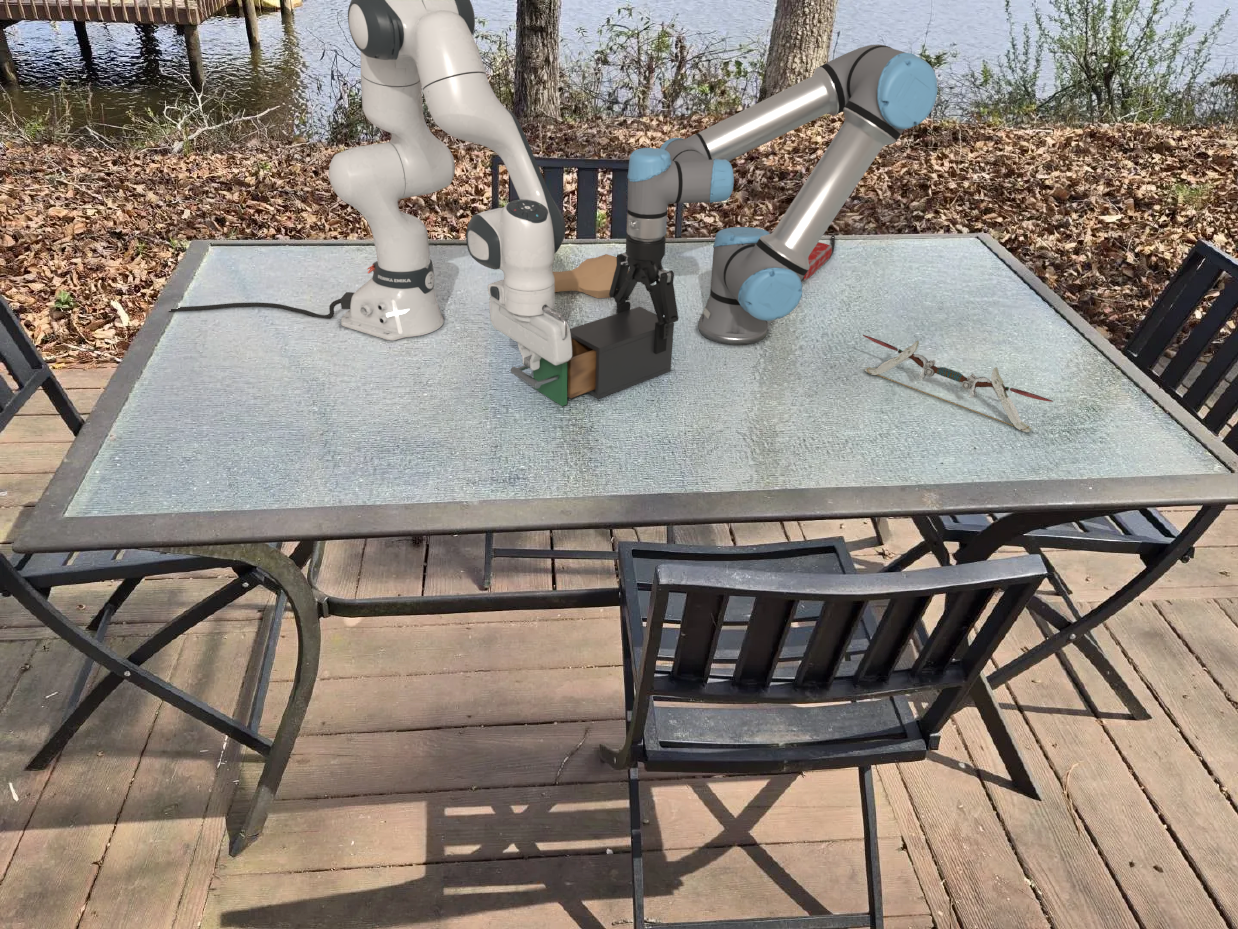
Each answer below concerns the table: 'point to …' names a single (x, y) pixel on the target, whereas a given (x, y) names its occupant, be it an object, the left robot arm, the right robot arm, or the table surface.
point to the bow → (967, 383)
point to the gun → (817, 258)
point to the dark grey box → (624, 349)
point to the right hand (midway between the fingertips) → (641, 342)
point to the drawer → (564, 375)
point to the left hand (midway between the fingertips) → (531, 366)
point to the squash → (589, 277)
